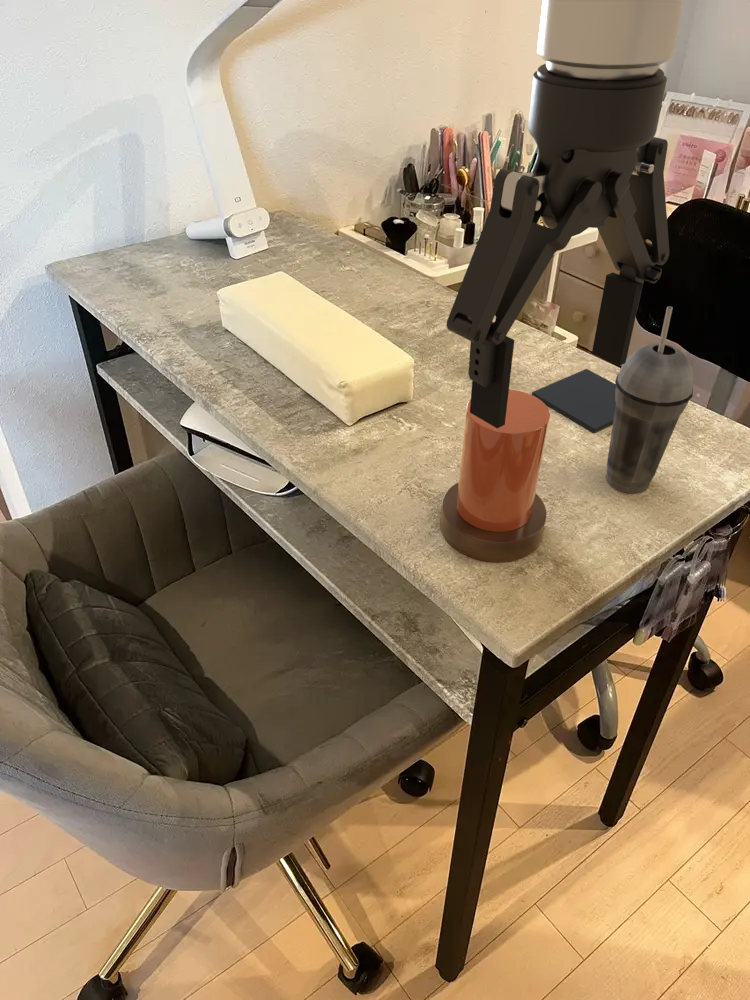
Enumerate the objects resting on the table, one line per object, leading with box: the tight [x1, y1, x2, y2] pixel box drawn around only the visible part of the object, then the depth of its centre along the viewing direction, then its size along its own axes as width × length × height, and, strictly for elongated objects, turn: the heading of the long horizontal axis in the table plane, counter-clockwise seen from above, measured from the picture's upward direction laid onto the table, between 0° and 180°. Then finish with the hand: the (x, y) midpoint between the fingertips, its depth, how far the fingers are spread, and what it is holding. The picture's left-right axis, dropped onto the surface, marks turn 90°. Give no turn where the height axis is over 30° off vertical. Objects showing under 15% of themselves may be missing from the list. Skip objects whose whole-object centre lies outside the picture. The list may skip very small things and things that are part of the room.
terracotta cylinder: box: [456, 388, 551, 532], centre depth 70 cm, size 7×7×11 cm
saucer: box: [439, 481, 548, 563], centre depth 74 cm, size 10×10×2 cm
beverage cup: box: [605, 305, 695, 495], centre depth 75 cm, size 7×7×20 cm
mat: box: [531, 368, 616, 434], centre depth 93 cm, size 10×10×1 cm
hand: (551, 387), depth 57 cm, fingers open, 13 cm apart
